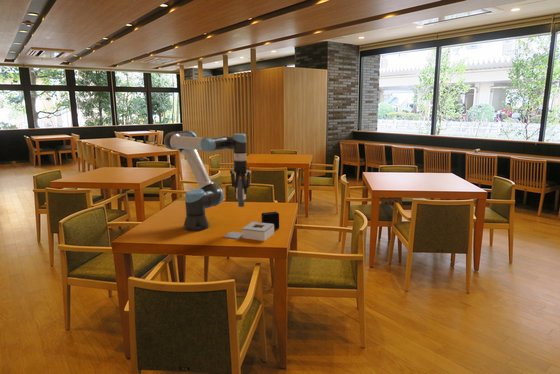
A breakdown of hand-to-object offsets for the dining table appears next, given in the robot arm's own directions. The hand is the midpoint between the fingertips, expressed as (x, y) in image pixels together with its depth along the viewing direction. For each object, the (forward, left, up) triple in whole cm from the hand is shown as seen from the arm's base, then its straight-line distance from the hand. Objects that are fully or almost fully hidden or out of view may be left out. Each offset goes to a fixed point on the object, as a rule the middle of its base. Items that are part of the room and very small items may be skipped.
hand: (241, 198), depth 231 cm
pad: (+1, -12, -19) cm, 23 cm away
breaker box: (+14, -7, -19) cm, 25 cm away
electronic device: (+16, +7, -20) cm, 26 cm away
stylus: (0, 0, -5) cm, 5 cm away
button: (+14, -7, -17) cm, 23 cm away
